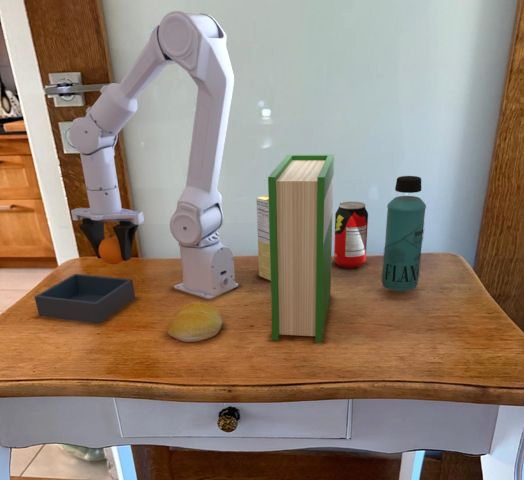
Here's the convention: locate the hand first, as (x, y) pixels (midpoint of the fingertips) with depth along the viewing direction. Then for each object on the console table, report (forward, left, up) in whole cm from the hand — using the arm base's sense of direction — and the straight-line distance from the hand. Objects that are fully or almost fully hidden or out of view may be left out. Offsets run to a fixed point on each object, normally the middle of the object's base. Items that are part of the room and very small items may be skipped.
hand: (114, 258), depth 108 cm
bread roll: (-30, +8, -4) cm, 31 cm away
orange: (0, 0, -1) cm, 1 cm away
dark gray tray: (-8, +12, -4) cm, 15 cm away
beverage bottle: (-49, -24, -4) cm, 55 cm away
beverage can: (-34, -32, -4) cm, 47 cm away
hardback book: (-41, -6, -4) cm, 42 cm away
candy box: (-26, -20, -4) cm, 33 cm away
